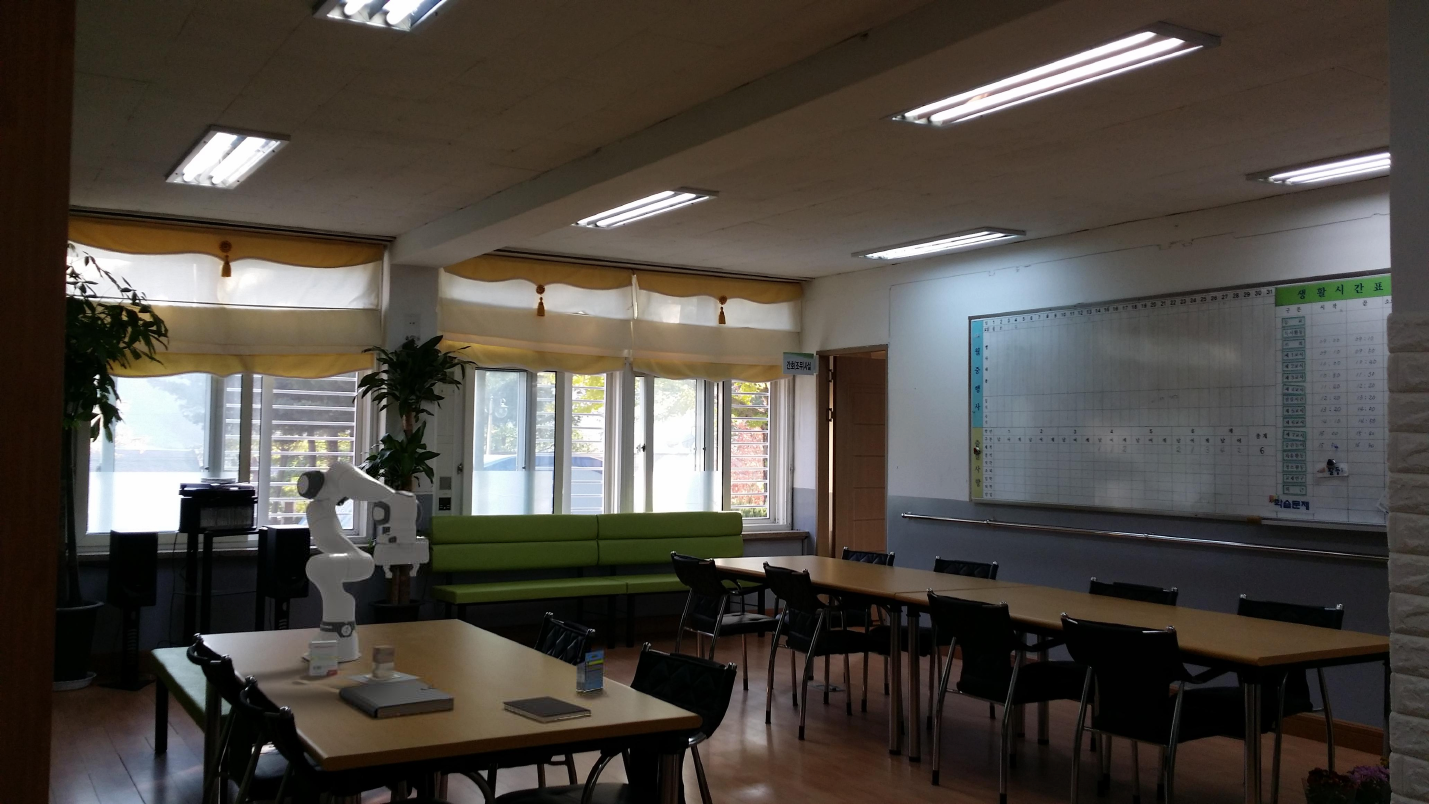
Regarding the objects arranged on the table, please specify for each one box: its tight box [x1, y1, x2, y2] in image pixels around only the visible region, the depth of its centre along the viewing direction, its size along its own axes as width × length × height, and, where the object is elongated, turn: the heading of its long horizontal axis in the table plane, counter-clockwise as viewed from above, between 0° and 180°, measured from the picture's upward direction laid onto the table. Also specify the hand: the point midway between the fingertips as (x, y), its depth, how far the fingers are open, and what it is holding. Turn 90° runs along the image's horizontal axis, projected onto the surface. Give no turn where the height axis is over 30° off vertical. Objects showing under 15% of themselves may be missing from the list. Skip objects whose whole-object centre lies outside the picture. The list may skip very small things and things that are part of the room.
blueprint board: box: [344, 670, 421, 685], centre depth 358 cm, size 18×18×1 cm
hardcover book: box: [502, 695, 592, 723], centre depth 315 cm, size 16×23×2 cm
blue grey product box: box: [575, 650, 605, 691], centre depth 348 cm, size 9×4×12 cm, turn 145°
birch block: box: [371, 661, 395, 679], centre depth 358 cm, size 5×5×5 cm
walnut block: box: [372, 644, 395, 664], centre depth 359 cm, size 5×5×5 cm
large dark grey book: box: [337, 679, 456, 718], centre depth 324 cm, size 33×4×24 cm
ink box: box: [308, 640, 339, 677], centre depth 363 cm, size 9×5×12 cm, turn 116°
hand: (400, 576), depth 381 cm, fingers open, 8 cm apart
